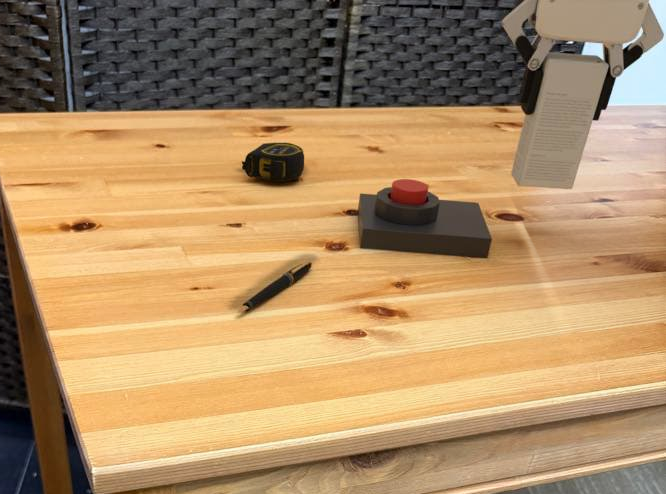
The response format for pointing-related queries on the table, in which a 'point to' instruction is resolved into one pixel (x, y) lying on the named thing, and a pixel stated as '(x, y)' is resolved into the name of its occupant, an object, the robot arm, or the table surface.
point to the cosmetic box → (559, 121)
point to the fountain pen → (277, 285)
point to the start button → (409, 192)
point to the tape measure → (275, 162)
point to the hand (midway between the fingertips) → (559, 112)
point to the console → (422, 226)
